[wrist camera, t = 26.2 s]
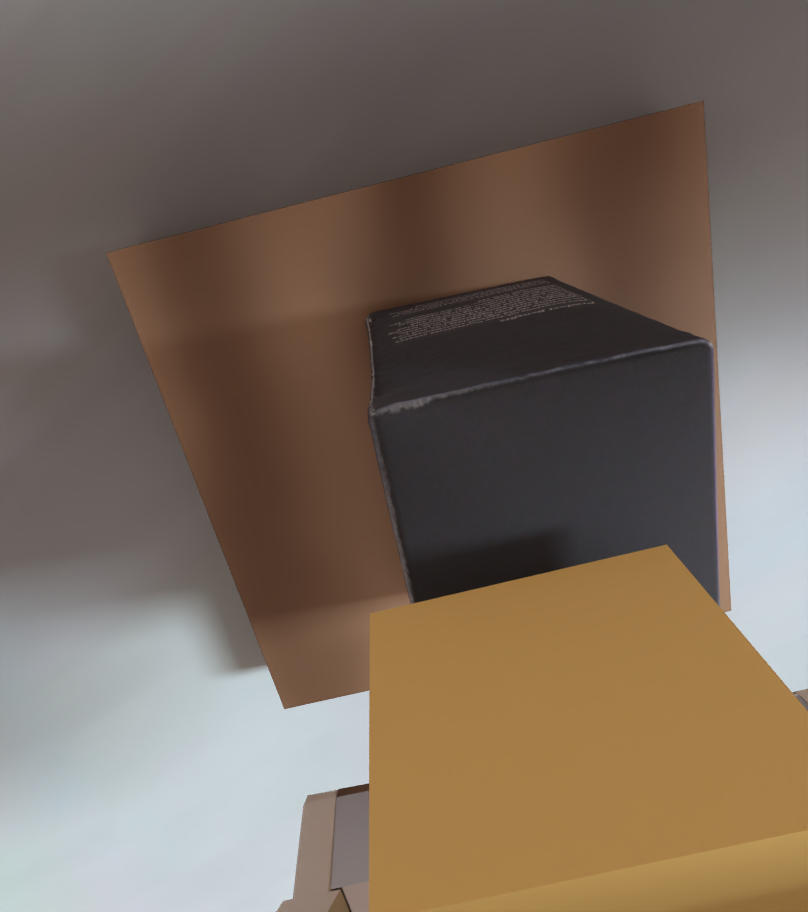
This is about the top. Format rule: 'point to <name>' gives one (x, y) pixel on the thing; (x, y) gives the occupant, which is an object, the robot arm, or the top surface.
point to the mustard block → (582, 751)
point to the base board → (348, 355)
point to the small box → (540, 436)
